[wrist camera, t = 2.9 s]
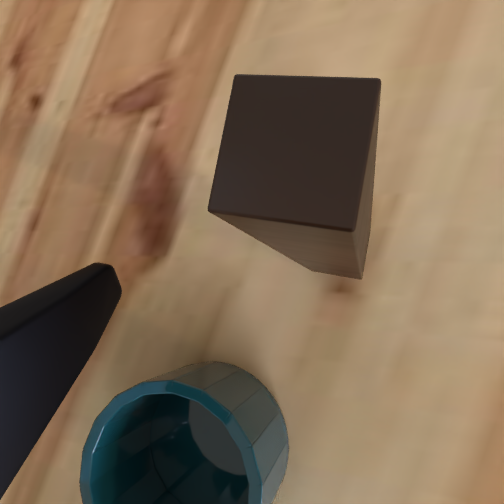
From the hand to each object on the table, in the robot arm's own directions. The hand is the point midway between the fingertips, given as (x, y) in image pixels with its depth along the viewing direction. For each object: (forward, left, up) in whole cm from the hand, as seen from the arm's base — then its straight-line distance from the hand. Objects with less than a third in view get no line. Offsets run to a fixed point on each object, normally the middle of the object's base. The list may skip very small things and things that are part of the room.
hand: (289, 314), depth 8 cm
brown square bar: (+3, -1, -10) cm, 11 cm away
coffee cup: (-6, +6, -10) cm, 13 cm away
